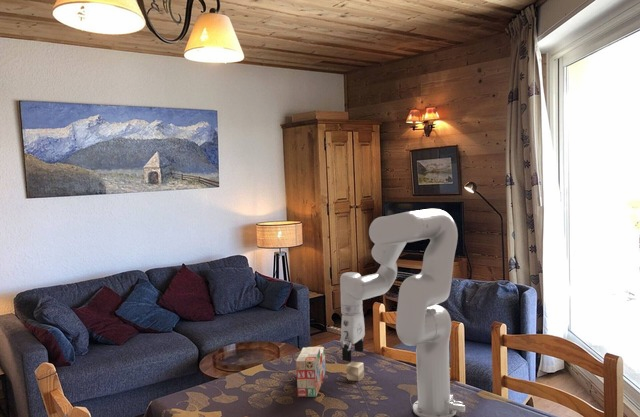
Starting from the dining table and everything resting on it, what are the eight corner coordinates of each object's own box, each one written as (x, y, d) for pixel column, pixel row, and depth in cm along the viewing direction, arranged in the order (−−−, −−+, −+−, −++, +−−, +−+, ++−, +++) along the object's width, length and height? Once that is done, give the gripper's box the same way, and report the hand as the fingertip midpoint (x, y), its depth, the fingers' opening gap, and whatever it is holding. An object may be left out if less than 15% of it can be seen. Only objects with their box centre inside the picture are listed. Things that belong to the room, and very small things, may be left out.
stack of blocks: (309, 371, 185) (307, 338, 184) (326, 371, 184) (324, 338, 183) (297, 397, 164) (295, 360, 163) (316, 397, 163) (314, 360, 162)
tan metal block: (364, 376, 178) (363, 362, 177) (358, 381, 174) (358, 367, 173) (352, 374, 180) (351, 361, 179) (347, 379, 176) (346, 365, 175)
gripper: (350, 316, 166) (352, 366, 167) (371, 303, 181) (372, 349, 182) (330, 313, 170) (332, 363, 171) (352, 300, 185) (354, 346, 186)
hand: (353, 355), depth 177 cm, fingers open, 9 cm apart
